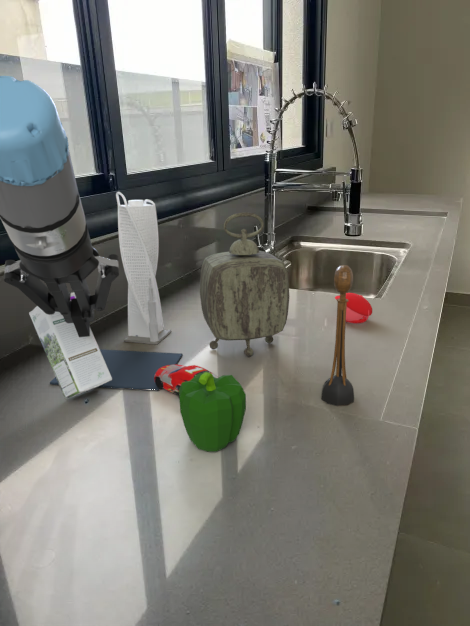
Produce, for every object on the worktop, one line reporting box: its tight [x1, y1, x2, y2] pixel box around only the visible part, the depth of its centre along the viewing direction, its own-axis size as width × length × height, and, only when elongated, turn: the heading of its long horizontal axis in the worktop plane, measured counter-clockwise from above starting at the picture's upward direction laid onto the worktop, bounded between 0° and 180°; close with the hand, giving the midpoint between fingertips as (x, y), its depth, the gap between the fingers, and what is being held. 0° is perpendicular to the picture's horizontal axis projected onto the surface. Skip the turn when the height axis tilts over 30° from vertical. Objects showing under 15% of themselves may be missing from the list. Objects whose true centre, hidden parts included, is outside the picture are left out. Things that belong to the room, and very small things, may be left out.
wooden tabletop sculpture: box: [321, 264, 355, 407], centre depth 70 cm, size 6×5×20 cm
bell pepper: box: [178, 372, 247, 453], centre depth 61 cm, size 8×8×10 cm
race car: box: [154, 364, 220, 397], centre depth 74 cm, size 13×5×4 cm, turn 47°
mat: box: [49, 348, 183, 391], centre depth 84 cm, size 18×14×1 cm
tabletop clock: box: [199, 211, 291, 357], centre depth 86 cm, size 14×9×25 cm, turn 104°
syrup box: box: [28, 291, 112, 400], centre depth 74 cm, size 6×6×14 cm
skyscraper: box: [115, 191, 172, 345], centre depth 95 cm, size 8×8×28 cm
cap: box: [334, 292, 373, 324], centre depth 105 cm, size 8×6×6 cm
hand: (84, 328), depth 71 cm, fingers closed
